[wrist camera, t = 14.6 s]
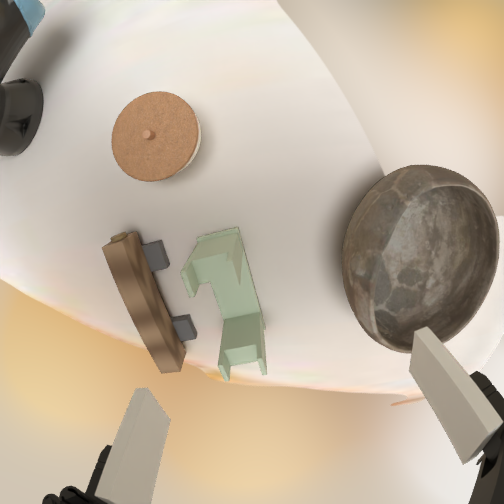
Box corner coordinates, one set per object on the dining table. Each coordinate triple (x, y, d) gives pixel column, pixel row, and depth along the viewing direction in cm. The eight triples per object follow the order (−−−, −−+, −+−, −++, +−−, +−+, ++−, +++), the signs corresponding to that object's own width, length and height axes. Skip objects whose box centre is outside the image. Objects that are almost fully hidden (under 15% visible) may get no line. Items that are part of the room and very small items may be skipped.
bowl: (314, 311, 43) (339, 374, 29) (324, 155, 35) (369, 152, 21) (431, 301, 43) (475, 344, 29) (452, 172, 35) (515, 184, 21)
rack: (197, 237, 39) (176, 268, 27) (238, 226, 38) (232, 255, 27) (229, 333, 44) (224, 384, 33) (265, 325, 44) (269, 376, 32)
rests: (113, 253, 39) (109, 256, 38) (161, 239, 39) (158, 242, 37) (151, 340, 45) (149, 345, 43) (197, 333, 44) (195, 339, 43)
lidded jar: (127, 167, 35) (95, 171, 26) (148, 98, 32) (121, 82, 23) (194, 186, 36) (177, 194, 27) (218, 113, 33) (208, 97, 24)
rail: (116, 233, 37) (100, 243, 32) (135, 227, 37) (120, 236, 32) (169, 357, 44) (162, 375, 39) (187, 355, 44) (181, 374, 39)
